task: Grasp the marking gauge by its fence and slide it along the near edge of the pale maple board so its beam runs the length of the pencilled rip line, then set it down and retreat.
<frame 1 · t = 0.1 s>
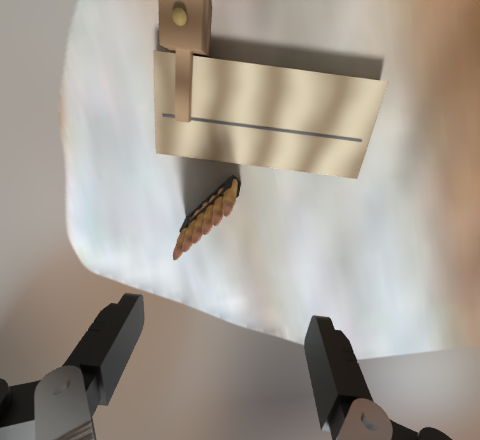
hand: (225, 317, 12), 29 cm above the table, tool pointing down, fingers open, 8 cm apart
ammunition clip: (212, 200, 41), on the table
gauge: (192, 30, 32), on the table
board: (263, 118, 36), on the table
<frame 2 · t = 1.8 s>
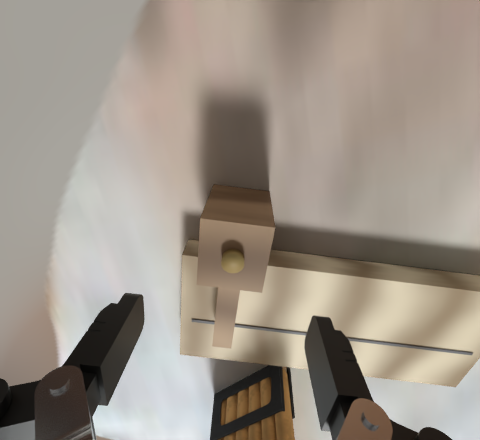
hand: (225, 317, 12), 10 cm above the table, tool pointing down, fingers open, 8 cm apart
ammunition clip: (250, 380, 32), on the table
gauge: (238, 216, 22), on the table
board: (328, 309, 26), on the table
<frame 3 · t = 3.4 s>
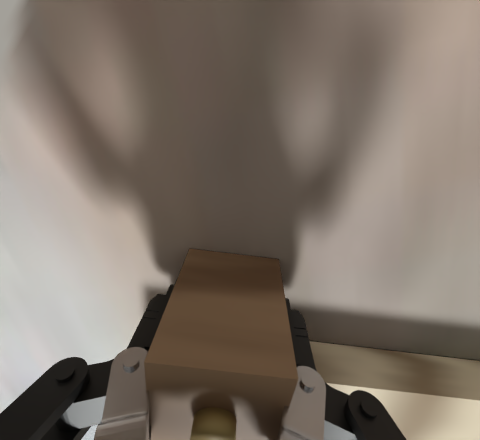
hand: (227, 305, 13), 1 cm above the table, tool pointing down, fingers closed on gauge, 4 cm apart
gauge: (229, 293, 14), on the table, touching gripper
board: (361, 410, 18), on the table
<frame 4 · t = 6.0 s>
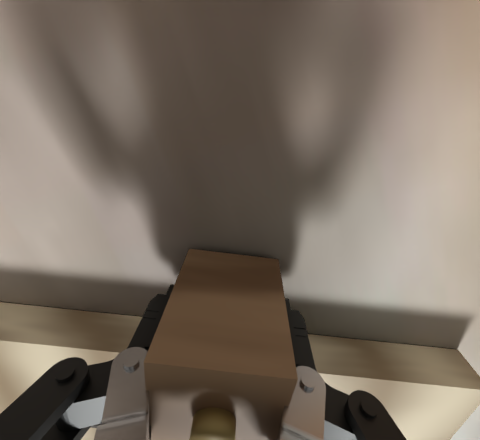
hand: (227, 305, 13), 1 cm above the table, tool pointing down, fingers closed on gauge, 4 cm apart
gauge: (228, 293, 14), on the table, touching gripper
board: (217, 387, 18), on the table
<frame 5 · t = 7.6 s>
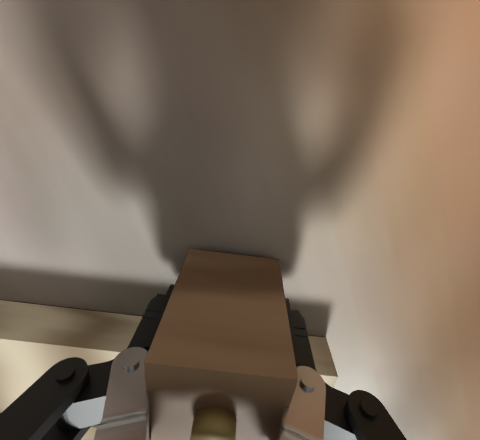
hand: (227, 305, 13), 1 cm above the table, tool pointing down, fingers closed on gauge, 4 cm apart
gauge: (229, 293, 14), on the table, touching gripper
board: (102, 375, 18), on the table
when the fingers open (1 cm above the table, at t = 8.6 s): gauge stays where it is, on the table.
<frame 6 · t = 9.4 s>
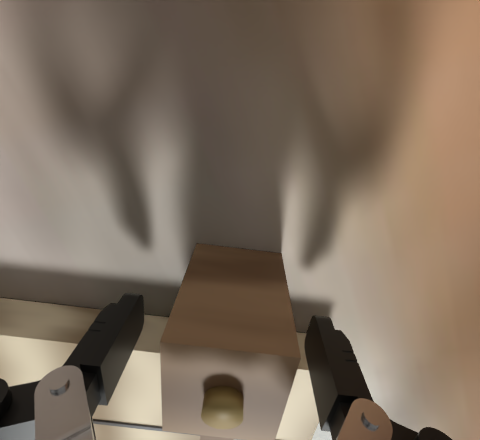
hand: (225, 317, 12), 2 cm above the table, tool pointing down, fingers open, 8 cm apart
gauge: (234, 286, 15), on the table
board: (106, 373, 18), on the table
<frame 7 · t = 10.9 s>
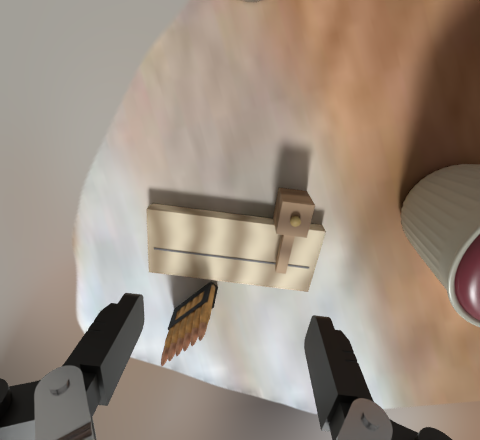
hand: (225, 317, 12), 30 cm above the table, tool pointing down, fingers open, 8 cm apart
canister: (439, 203, 41), on the table
ammunition clip: (195, 297, 51), on the table
gauge: (289, 204, 42), on the table
board: (233, 245, 45), on the table
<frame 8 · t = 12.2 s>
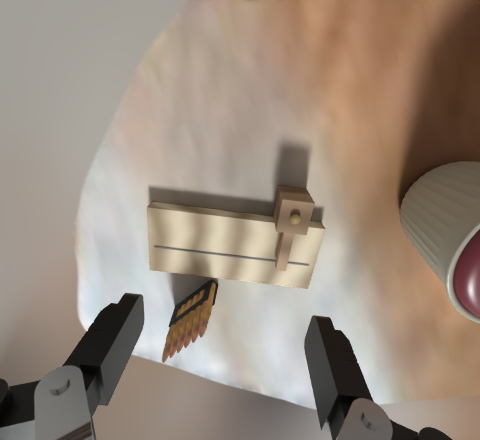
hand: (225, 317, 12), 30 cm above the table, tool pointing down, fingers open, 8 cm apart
canister: (438, 200, 41), on the table
ammunition clip: (196, 295, 51), on the table
gauge: (289, 201, 42), on the table
board: (233, 243, 46), on the table
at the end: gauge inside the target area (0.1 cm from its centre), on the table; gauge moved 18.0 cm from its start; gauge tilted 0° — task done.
